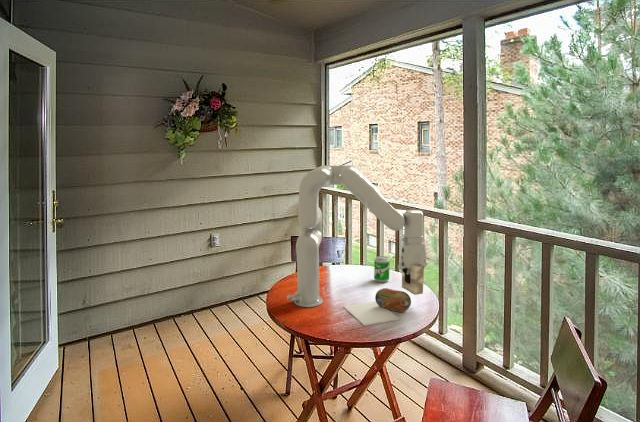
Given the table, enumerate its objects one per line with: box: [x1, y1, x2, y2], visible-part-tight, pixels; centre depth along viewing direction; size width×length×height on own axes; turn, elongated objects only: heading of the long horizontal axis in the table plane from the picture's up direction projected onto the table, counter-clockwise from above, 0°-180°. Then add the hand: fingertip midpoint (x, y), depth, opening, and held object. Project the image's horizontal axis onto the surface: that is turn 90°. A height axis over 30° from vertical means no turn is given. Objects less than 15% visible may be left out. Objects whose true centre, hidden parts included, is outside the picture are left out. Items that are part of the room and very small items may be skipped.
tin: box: [374, 287, 412, 313], centre depth 183 cm, size 15×3×8 cm, turn 62°
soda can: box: [373, 255, 390, 283], centre depth 220 cm, size 8×8×12 cm
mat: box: [343, 300, 401, 327], centre depth 180 cm, size 16×20×1 cm
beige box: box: [401, 264, 425, 296], centre depth 185 cm, size 4×10×12 cm, turn 20°
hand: (412, 281), depth 185 cm, fingers closed on beige box, 4 cm apart
